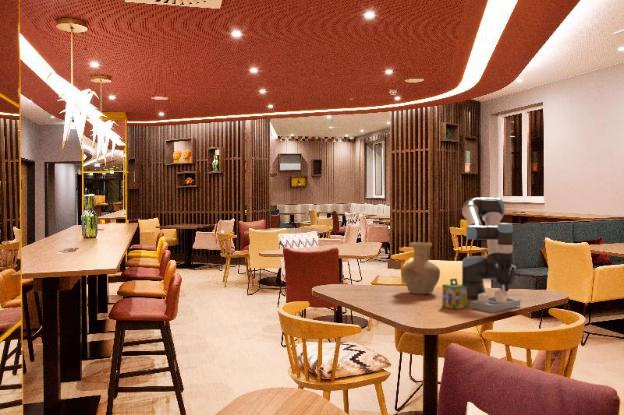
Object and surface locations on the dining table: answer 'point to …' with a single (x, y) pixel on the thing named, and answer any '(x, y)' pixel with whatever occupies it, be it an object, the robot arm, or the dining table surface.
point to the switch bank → (495, 305)
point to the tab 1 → (483, 298)
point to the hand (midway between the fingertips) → (504, 297)
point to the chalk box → (454, 295)
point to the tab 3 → (501, 298)
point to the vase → (420, 271)
